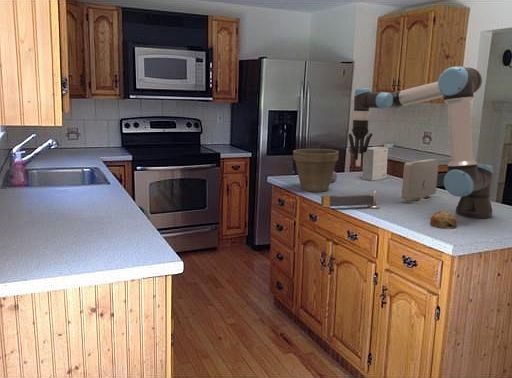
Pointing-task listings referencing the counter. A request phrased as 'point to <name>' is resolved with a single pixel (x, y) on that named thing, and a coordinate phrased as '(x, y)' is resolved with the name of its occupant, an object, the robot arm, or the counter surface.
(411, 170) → the network device
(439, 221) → the bread roll
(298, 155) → the plant pot
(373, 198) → the pivot post
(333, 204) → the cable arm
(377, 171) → the hard drive box
